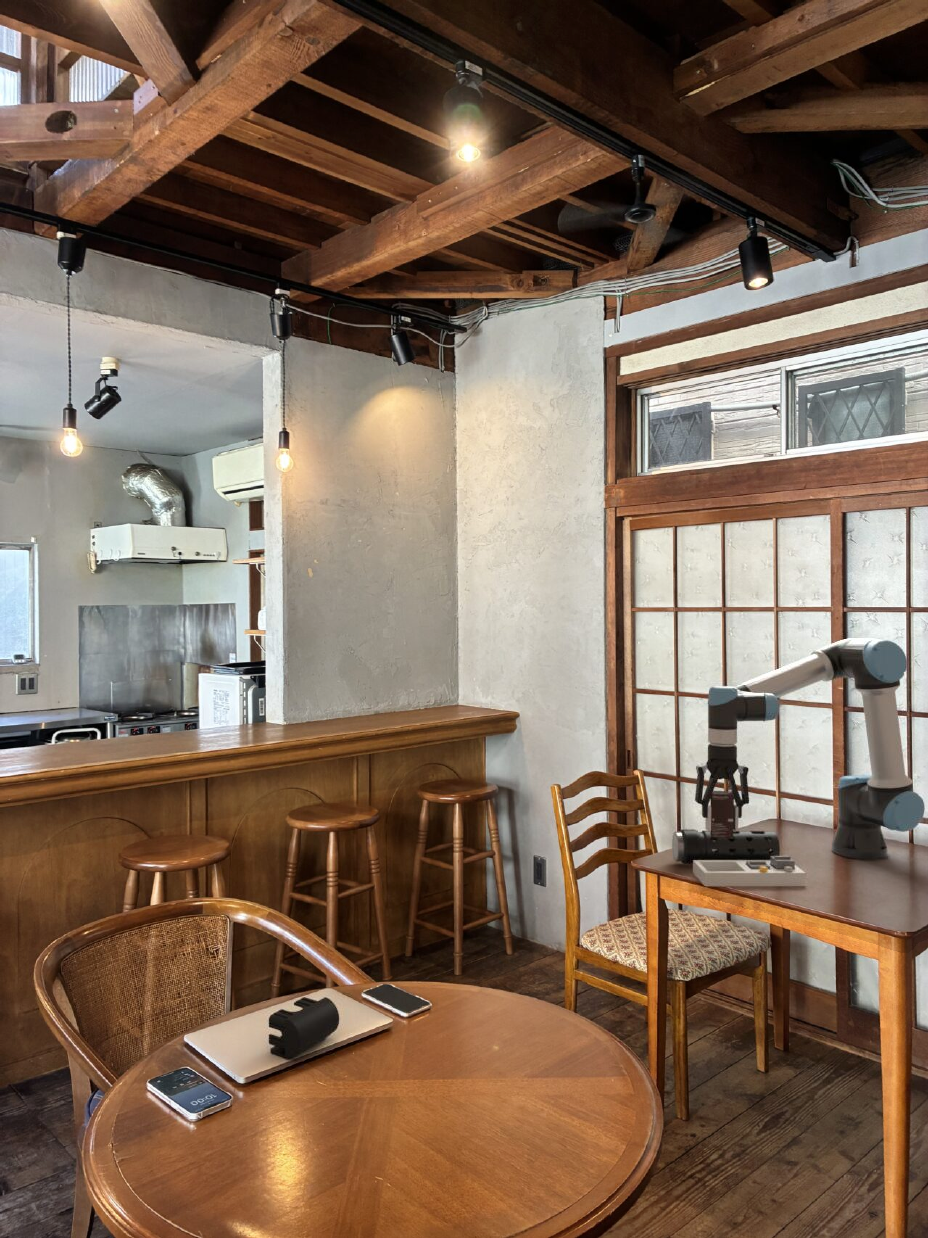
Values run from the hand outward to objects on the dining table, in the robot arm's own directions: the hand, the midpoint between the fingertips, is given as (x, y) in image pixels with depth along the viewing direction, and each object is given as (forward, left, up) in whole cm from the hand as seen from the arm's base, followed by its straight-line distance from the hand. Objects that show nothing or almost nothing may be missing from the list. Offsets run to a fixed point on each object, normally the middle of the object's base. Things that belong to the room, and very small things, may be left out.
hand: (721, 829), depth 241 cm
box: (0, 0, -2) cm, 2 cm away
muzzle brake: (-5, -13, -14) cm, 19 cm away
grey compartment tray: (-7, 0, -13) cm, 15 cm away
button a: (-16, 0, -11) cm, 20 cm away
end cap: (+96, +92, -14) cm, 134 cm away
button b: (-10, 0, -13) cm, 16 cm away
